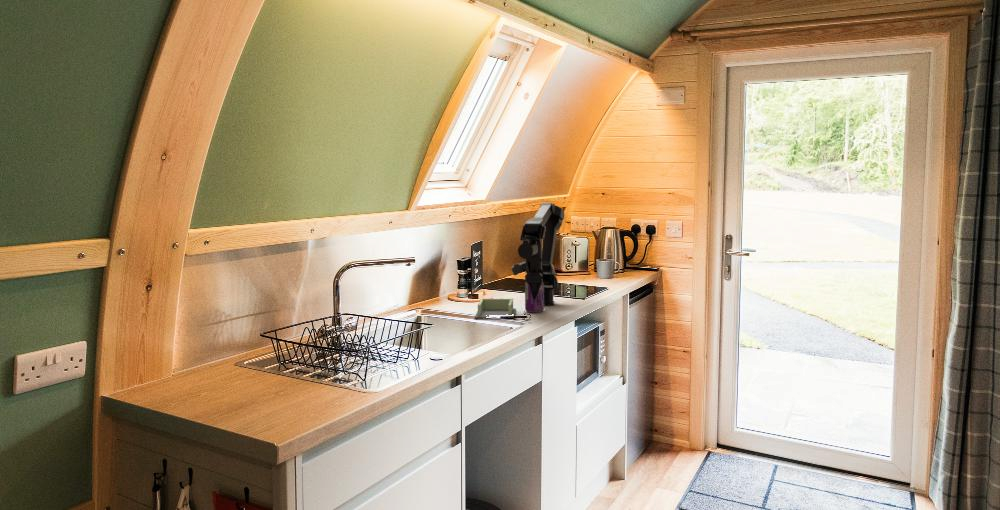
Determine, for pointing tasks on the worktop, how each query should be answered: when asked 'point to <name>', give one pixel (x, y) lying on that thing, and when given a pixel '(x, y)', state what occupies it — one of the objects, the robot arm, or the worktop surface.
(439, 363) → the worktop surface
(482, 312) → the chute bracket
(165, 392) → the worktop surface
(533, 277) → the robot arm
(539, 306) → the beverage can
